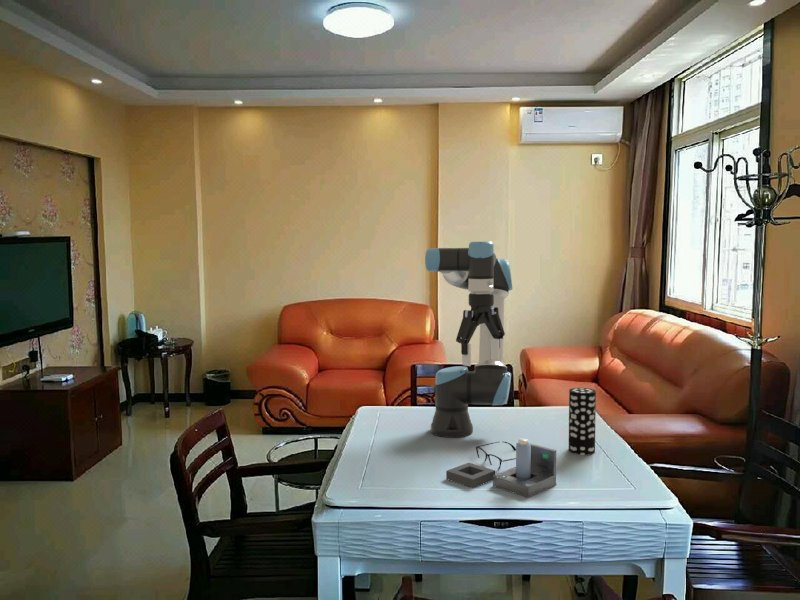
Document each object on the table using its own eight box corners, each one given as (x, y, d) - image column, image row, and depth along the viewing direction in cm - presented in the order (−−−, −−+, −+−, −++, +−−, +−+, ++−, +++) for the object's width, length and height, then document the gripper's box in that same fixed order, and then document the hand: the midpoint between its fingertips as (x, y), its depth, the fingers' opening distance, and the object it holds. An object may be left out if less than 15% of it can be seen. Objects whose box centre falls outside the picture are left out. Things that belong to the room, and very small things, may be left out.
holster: (446, 479, 192) (446, 470, 192) (468, 470, 199) (468, 462, 198) (473, 488, 185) (473, 479, 184) (495, 478, 191) (495, 470, 191)
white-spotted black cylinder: (596, 455, 211) (597, 393, 209) (569, 454, 213) (569, 393, 211) (593, 447, 219) (594, 388, 218) (567, 446, 221) (568, 387, 219)
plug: (513, 486, 186) (513, 440, 185) (521, 482, 188) (521, 437, 187) (524, 489, 183) (525, 443, 182) (533, 486, 186) (533, 440, 184)
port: (492, 486, 186) (492, 451, 185) (520, 474, 195) (521, 441, 194) (528, 497, 177) (528, 461, 176) (556, 484, 186) (556, 450, 185)
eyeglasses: (472, 456, 213) (472, 444, 213) (514, 450, 219) (514, 438, 219) (501, 472, 198) (501, 459, 198) (544, 464, 204) (544, 452, 204)
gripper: (463, 296, 188) (463, 369, 190) (516, 290, 206) (515, 358, 207) (443, 294, 194) (444, 366, 196) (496, 289, 211) (496, 355, 213)
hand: (481, 362), depth 201 cm, fingers open, 13 cm apart
